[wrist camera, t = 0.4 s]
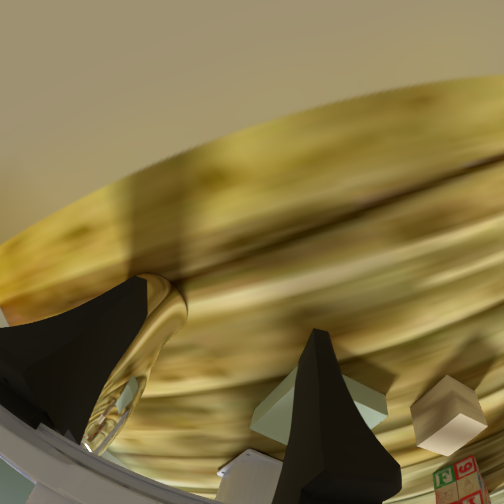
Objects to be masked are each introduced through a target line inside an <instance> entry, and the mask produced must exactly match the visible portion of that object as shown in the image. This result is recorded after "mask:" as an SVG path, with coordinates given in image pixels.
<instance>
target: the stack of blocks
mask: <svg viewBox="0 0 504 504" xmlns="http://www.w3.org/2000/svg"><path fill="white" fill-rule="evenodd" d="M433 482H434V490H435V495H436V504H491V502H490V497H489V493H488V490H487V487H486V484H485V482H484V480H483V478H482V476H481V473H480V471H479V467H478V465H477V462H476V459H475V457H474V455H471V456H469V457H467V458H465V459H463V460H461V461H459V462H457V463H455V464H453V465H451V466H449V467H446V468H444V469H442V470H439V471H437V472H435V473H433Z"/></svg>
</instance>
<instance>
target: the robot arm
mask: <svg viewBox="0 0 504 504" xmlns="http://www.w3.org/2000/svg"><path fill="white" fill-rule="evenodd" d="M147 315H148V300H147V280H146V279H143V278H140V277H137V276H133V277H132V278H130V279H128V280H126V281H125V282H123V283H121V284H119V285H118V286H116V287H114V288H112V289H111V290H109V291H107V292H105V293H104V294H102V295H100V296H98V297H96V298H94V299H92V300H90V301H88V302H86V303H84V304H82V305H80V306H78V307H76V308H74V309H72V310H69V311H67V312H64V313H62V314H59V315H56V316H53V317H50V318H47V319H44V320H40V321H37V322H33V323H29V324H24V325H19V326H12V327H4V328H0V458H1V459H3V460H4V461H5V462H6V463H8V464H9V465H10V466H11V467H13V468H14V469H15V470H17V471H18V472H19V473H21V474H22V475H23V476H25V477H26V478H27V479H29V480H30V481H32V482H33V483H34V484H36V485H35V487H34V489H33V491H32V493H31V494H30V496H29V498H28V500H27V502H26V504H382V502H383V501H385V500H387V499H389V498H391V497H393V496H394V495H396V494H397V493H399V492H400V490H401V489H402V476H401V469H400V465H399V464H398V462H397V461H396V460H395V459H394V458H393V457H392V456H391V455H390V454H389V453H388V452H387V451H386V449H385V448H384V447H383V446H382V445H381V443H380V442H379V441H378V439H377V438H376V437H375V435H374V434H373V432H372V431H371V429H370V428H369V427H368V425H367V424H366V422H365V421H364V419H363V417H362V415H361V414H360V412H359V410H358V408H357V406H356V405H355V403H354V401H353V399H352V397H351V394H350V392H349V390H348V388H347V385H346V383H345V381H344V378H343V376H342V373H341V370H340V367H339V365H338V362H337V359H336V356H335V353H334V349H333V346H332V343H331V339H330V335H329V333H328V332H327V331H323V330H319V329H315V328H314V329H313V331H312V333H311V335H310V338H309V340H308V342H307V344H306V347H305V349H304V351H303V353H302V355H301V357H300V360H299V364H298V369H297V374H296V379H295V387H294V398H293V409H292V420H291V429H290V435H289V440H288V444H287V449H286V453H285V457H284V461H283V462H282V461H279V460H277V459H274V458H272V457H269V456H267V455H264V454H262V453H260V452H257V451H255V450H253V449H247V450H246V451H245V452H243V453H242V454H241V455H239V456H238V457H237V458H235V459H234V460H232V461H231V462H230V463H228V464H227V465H226V466H224V467H223V468H221V469H220V470H219V471H217V475H219V476H221V477H222V480H221V483H220V486H219V489H218V492H217V495H216V498H215V500H212V499H208V498H205V497H202V496H198V495H195V494H192V493H189V492H186V491H183V490H180V489H177V488H174V487H171V486H168V485H165V484H163V483H160V482H157V481H155V480H152V479H150V478H147V477H145V476H142V475H140V474H137V473H135V472H133V471H130V470H128V469H126V468H124V467H121V466H119V465H117V464H115V463H113V462H111V461H109V460H106V459H104V458H102V457H100V456H98V455H96V454H94V453H93V452H91V451H89V450H87V449H85V448H83V447H81V446H80V445H81V441H82V438H83V435H84V433H85V430H86V427H87V424H88V422H89V419H90V417H91V414H92V412H93V409H94V407H95V405H96V403H97V400H98V398H99V396H100V394H101V392H102V390H103V388H104V386H105V384H106V382H107V380H108V378H109V376H110V374H111V373H112V371H113V369H114V368H115V366H116V365H117V363H118V362H119V361H120V359H121V358H122V356H123V355H124V353H125V352H126V350H127V349H128V348H129V346H130V345H131V343H132V342H133V340H134V339H135V337H136V336H137V334H138V333H139V331H140V329H141V327H142V325H143V323H144V321H145V319H146V317H147ZM77 464H78V465H77Z"/></svg>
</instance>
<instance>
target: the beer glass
mask: <svg viewBox="0 0 504 504" xmlns="http://www.w3.org/2000/svg"><path fill="white" fill-rule="evenodd" d="M136 276H137V277H140V278H143V279H146V280H147V300H148V315H147V317H146V319H145V321H144V323H143V325H142V327H141V329H140V331H139V333H138V334H137V336H136V337H135V339H134V340H133V342H132V343H131V345H130V346H129V348H128V349H127V350H126V352H125V353H124V355H123V356H122V358H121V359H120V361H119V362H118V363H117V365H116V366H115V368H114V369H113V371H112V373H111V374H110V376H109V378H108V380H107V382H106V384H105V386H104V388H103V390H102V392H101V394H100V396H99V398H98V400H97V403H96V405H95V407H94V409H93V412H92V414H91V417H90V419H89V422H88V424H87V427H86V430H85V433H84V435H83V438H82V441H81V445H80V446H81V447H83V448H85V449H87V450H89V451H91V452H93V453H94V454H96V455H98V456H101V455H102V454H103V452H104V451H105V450H106V449H107V448H108V446H109V445H110V444H111V443H112V441H113V440H114V439H115V438H116V436H117V435H118V434H119V432H120V431H121V430H122V428H123V427H124V425H125V424H126V422H127V421H128V420H129V418H130V416H131V415H132V413H133V411H134V410H135V408H136V406H137V404H138V402H139V400H140V398H141V396H142V394H143V391H144V389H145V387H146V384H147V382H148V379H149V377H150V374H151V372H152V369H153V366H154V364H155V361H156V359H157V357H158V354H159V352H160V351H161V349H162V347H163V346H164V345H165V343H166V342H167V341H168V340H170V339H171V338H172V337H173V336H174V335H176V334H177V333H178V332H179V331H180V330H181V329H182V327H183V326H184V324H185V322H186V318H187V308H186V304H185V301H184V299H183V297H182V295H181V294H180V292H179V291H178V290H177V288H176V287H175V286H174V285H173V284H172V283H170V282H169V281H168V280H166V279H165V278H163V277H161V276H158V275H155V274H150V273H143V274H139V275H136Z"/></svg>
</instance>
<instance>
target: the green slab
mask: <svg viewBox="0 0 504 504" xmlns="http://www.w3.org/2000/svg"><path fill="white" fill-rule="evenodd" d="M297 369H298V365H297V366H296V367H295V369H294V370H293V371H292V372H291V373H290V374H289V375H288V376H287V377H286V378H285V379H284V380H283V381H282V382H281V383H280V384H279V385H278V386H277V387H276V388H275V389H274V390H273V391H272V392H271V393H270V394H269V395H268V396H267V397H266V398H265V399H264V400H263V401H262V402H261V403H260V404H259V405H258V406H257V407H256V408H255V409H254V413H253V416H252V419H251V423H250V426H249V429H251V430H253V431H255V432H257V433H260V434H262V435H264V436H266V437H269V438H271V439H273V440H275V441H278V442H280V443H282V444H285V445H287V444H288V440H289V435H290V429H291V420H292V409H293V398H294V387H295V379H296V374H297ZM342 376H343V378H344V381H345V383H346V385H347V388H348V390H349V392H350V394H351V397H352V399H353V401H354V403H355V405H356V406H357V408H358V410H359V412H360V414H361V415H362V417H363V419H364V421H365V422H366V424H367V425H368V427H369V428H370V429H372V428H373V427H375V426H376V425H377V424H379V423H380V422H381V421H383V420H384V419H385V418H386V417H388V411H387V403H386V396H385V395H383V394H381V393H379V392H377V391H375V390H373V389H371V388H369V387H367V386H365V385H363V384H361V383H359V382H357V381H355V380H353V379H351V378H349V377H347V376H345V375H343V374H342Z"/></svg>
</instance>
